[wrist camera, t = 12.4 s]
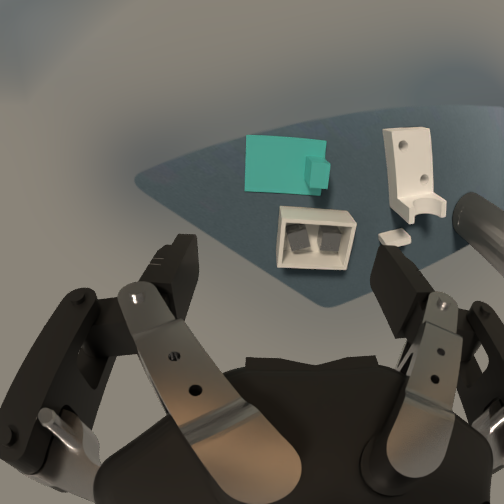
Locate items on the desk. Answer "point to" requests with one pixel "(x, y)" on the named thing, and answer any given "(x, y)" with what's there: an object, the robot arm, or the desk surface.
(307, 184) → the lid
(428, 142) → the bracket
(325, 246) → the block
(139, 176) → the desk surface
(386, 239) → the eraser
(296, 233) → the block
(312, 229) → the tub
